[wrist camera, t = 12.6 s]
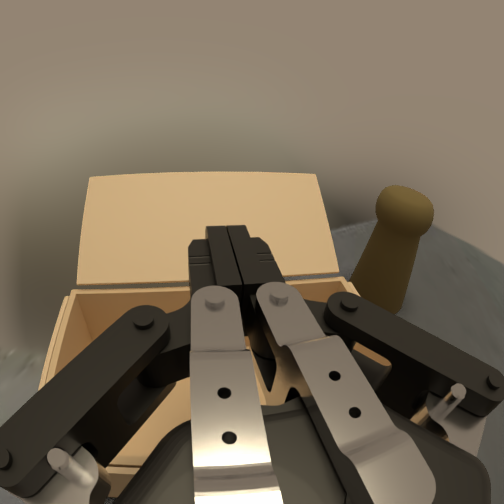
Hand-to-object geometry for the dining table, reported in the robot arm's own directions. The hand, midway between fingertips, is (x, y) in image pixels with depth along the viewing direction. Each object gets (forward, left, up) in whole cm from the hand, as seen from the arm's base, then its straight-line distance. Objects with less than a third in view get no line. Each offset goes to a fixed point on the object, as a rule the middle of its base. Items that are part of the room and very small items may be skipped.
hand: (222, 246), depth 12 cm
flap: (-2, +4, -5) cm, 7 cm away
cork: (+12, +14, -12) cm, 22 cm away
